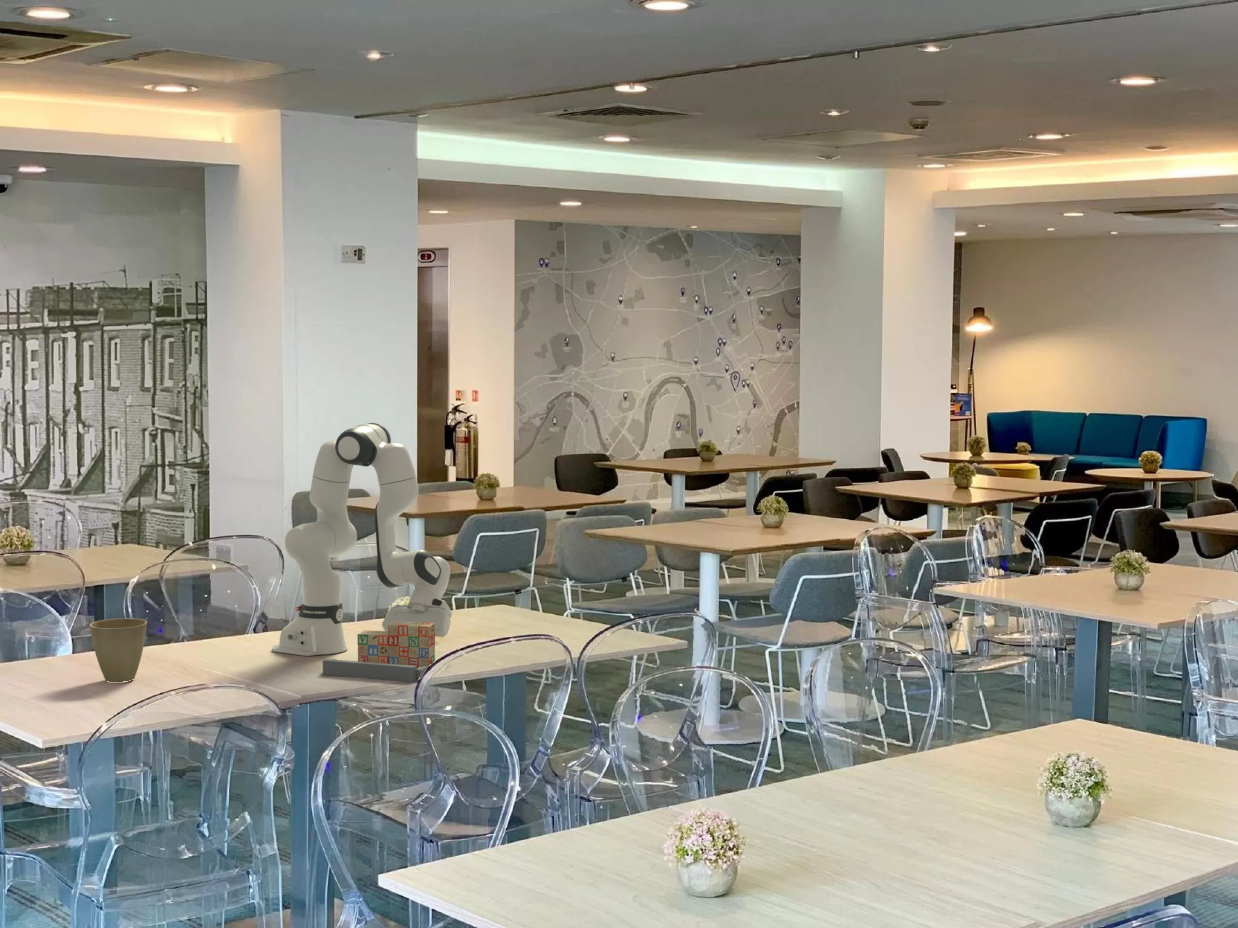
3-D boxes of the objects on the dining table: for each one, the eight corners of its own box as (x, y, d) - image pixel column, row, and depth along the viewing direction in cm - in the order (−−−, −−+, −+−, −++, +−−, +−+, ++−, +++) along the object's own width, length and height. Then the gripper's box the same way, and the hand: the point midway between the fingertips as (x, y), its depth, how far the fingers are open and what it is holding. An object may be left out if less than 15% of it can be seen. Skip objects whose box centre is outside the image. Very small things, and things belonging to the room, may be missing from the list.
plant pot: (83, 679, 423) (81, 622, 422) (136, 672, 432) (135, 616, 431) (102, 689, 412) (100, 629, 410) (156, 681, 421) (155, 623, 419)
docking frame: (319, 674, 430) (318, 659, 430) (332, 669, 437) (331, 655, 436) (416, 682, 420) (416, 667, 419) (428, 677, 426) (428, 662, 426)
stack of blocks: (357, 666, 442) (356, 623, 441) (364, 661, 448) (364, 619, 447) (429, 668, 438) (428, 625, 437) (435, 664, 444) (435, 621, 444)
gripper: (388, 598, 456) (372, 636, 448) (450, 602, 449) (435, 641, 441) (395, 610, 461) (379, 649, 452) (457, 614, 454) (442, 653, 445)
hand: (407, 645), depth 447 cm, fingers closed
